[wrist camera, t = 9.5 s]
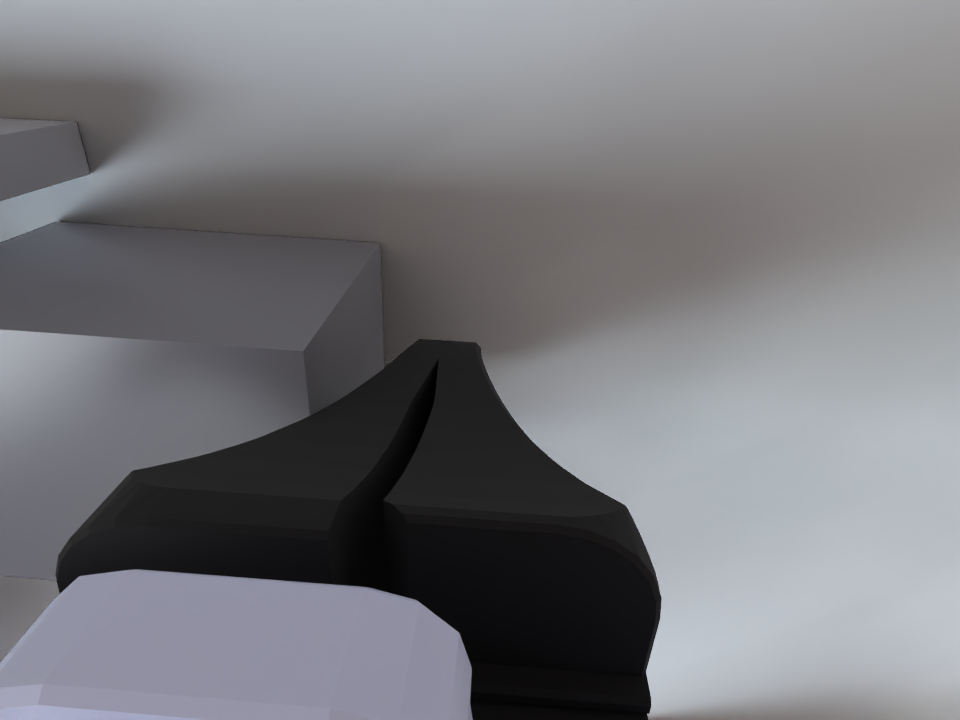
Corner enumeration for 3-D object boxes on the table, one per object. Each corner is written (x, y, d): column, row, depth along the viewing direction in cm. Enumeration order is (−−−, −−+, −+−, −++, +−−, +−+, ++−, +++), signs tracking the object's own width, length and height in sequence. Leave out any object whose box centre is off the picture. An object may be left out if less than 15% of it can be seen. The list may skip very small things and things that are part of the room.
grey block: (386, 437, 15) (329, 603, 10) (113, 416, 15) (-57, 570, 11) (380, 242, 12) (303, 351, 8) (55, 221, 13) (-191, 315, 8)
